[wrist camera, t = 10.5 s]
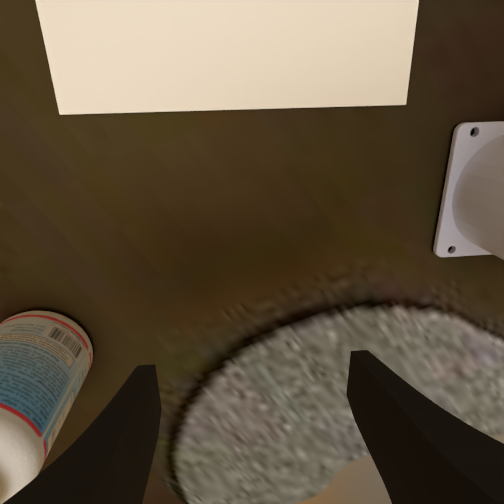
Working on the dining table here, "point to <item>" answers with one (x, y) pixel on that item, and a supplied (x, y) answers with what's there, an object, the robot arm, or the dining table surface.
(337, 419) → the dining table surface
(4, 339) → the pill bottle
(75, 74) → the paper
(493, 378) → the dining table surface
